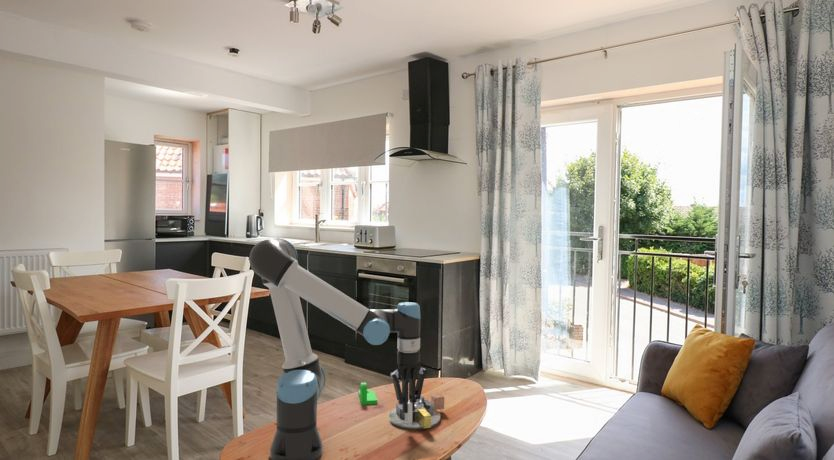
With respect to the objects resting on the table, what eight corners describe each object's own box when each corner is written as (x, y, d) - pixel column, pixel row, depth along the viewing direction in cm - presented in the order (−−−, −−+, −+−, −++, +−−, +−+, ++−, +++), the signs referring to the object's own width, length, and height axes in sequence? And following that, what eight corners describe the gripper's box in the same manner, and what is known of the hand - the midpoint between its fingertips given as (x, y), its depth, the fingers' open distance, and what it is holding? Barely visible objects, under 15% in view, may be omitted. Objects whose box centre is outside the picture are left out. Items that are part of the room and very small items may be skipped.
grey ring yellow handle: (392, 409, 174) (393, 397, 174) (425, 405, 178) (425, 394, 178) (409, 430, 157) (409, 417, 157) (444, 425, 161) (445, 413, 161)
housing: (398, 432, 159) (398, 414, 159) (383, 412, 176) (383, 396, 176) (456, 424, 166) (456, 407, 166) (436, 405, 183) (436, 390, 183)
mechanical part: (377, 405, 183) (377, 384, 183) (361, 406, 182) (361, 385, 182) (373, 394, 195) (373, 374, 195) (358, 395, 194) (358, 375, 194)
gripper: (395, 355, 153) (395, 429, 153) (431, 350, 158) (431, 422, 159) (386, 349, 159) (385, 421, 160) (421, 345, 165) (420, 414, 165)
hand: (408, 421), depth 159 cm, fingers closed
